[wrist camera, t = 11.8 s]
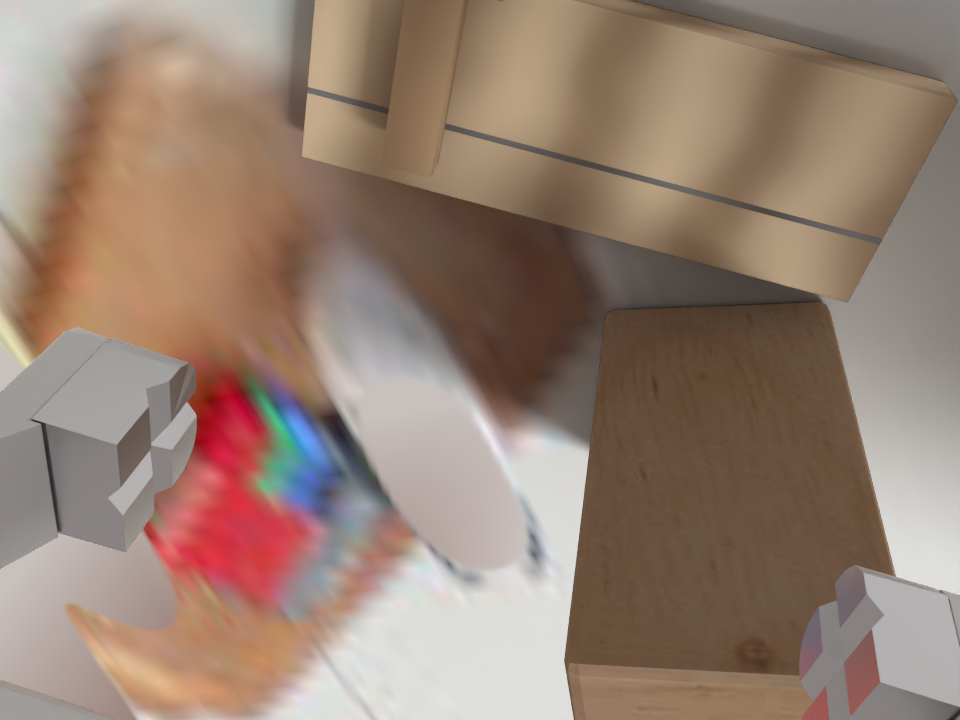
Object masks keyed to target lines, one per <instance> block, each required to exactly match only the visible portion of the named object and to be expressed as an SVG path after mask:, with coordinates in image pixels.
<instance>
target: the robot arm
mask: <svg viewBox="0 0 960 720" xmlns="http://www.w3.org/2000/svg"><path fill="white" fill-rule="evenodd" d="M196 389H197V387H196V368H194V367H193V366H192V365H191V364H189V363H187V362H184V361H181V360H178V359H175V358H172V357H169V356H165V355H162V354H159V353H156V352H153V351H150V350H147V349H144V348H141V347H138V346H135V345H132V344H129V343H126V342H123V341H120V340H117V339H111V338H108V337H105V336H102V335H99V334H96V333H93V332H90V331H87V330H84V329H81V328H78V327H77V328H74V329H71V330H67V331H65V332H64V333H63V334H61V335H60V336H59V337H58V338H57V339H56V340H55V341H54V342H53V343H52V344H51V345H50V346H49V347H48V348H47V349H46V350H45V351H44V352H43V353H41V354H40V355H39V356H38V357H37V358H36V359H35V360H34V361H33V362H32V363H31V364H30V365H29V366H28V367H27V368H26V369H25V370H24V371H23V372H21V373H20V374H19V375H18V376H17V377H16V378H15V379H14V380H13V381H12V382H11V383H10V384H9V385H8V386H7V387H6V388H5V389H4V390H3V391H1V392H0V569H1V568H3V567H4V566H6V565H8V564H10V563H12V562H14V561H15V560H17V559H19V558H21V557H23V556H24V555H26V554H28V553H30V552H31V551H34V550H35V549H37V548H39V547H41V546H43V545H44V544H46V543H48V542H50V541H52V540H53V539H55V538H57V537H58V533H60V534H64V535H67V536H71V537H74V538H78V539H81V540H85V541H88V542H92V543H95V544H99V545H102V546H106V547H109V548H113V549H116V550H119V551H123V552H126V551H127V550H128V549H129V547H130V546H131V544H132V543H133V541H134V540H135V539H136V537H137V536H138V535H139V533H140V532H141V530H142V529H143V528H144V526H145V525H146V523H147V522H148V521H149V519H150V518H151V516H152V515H153V514H154V494H156V493H158V492H161V491H163V490H165V489H168V488H170V487H172V486H173V485H174V484H175V482H176V481H177V479H178V478H179V476H180V475H181V473H182V472H183V470H184V468H185V466H186V464H187V461H188V459H189V457H190V454H191V452H192V449H193V446H194V441H195V436H196V431H197V415H196V414H195V413H194V411H193V410H192V408H191V407H190V405H189V404H188V402H187V401H188V400H189V398H190V397H191V396H192V394H193V393H194V392H195V390H196ZM835 587H836V596H837V600H836V601H833V602H831V603H828V604H825V605H822V606H820V607H818V609H817V611H816V612H815V614H814V615H813V617H812V618H811V620H810V621H809V623H808V625H807V628H806V631H805V634H804V637H803V640H802V644H801V650H800V659H799V671H800V683H801V684H802V686H803V687H804V689H805V690H806V692H807V693H808V695H809V696H810V698H811V699H812V701H813V703H812V704H811V705H810V707H809V708H808V709H807V711H806V712H805V713H804V715H803V716H802V718H803V720H960V595H957V594H953V593H950V592H946V591H943V590H937V589H935V588H932V587H928V586H925V585H922V584H918V583H915V582H911V581H908V580H904V579H901V578H898V577H894V576H891V575H887V574H884V573H881V572H877V571H874V570H870V569H867V568H864V567H860V566H857V565H853V566H852V567H850V568H848V569H847V570H845V571H844V573H843V574H842V575H841V577H840V578H839V579H838V581H837V582H836V583H835ZM0 720H121V719H118V718H115V717H112V716H109V715H106V714H103V713H100V712H97V711H94V710H91V709H87V708H85V707H82V706H79V705H75V704H73V703H69V702H66V701H63V700H60V699H57V698H54V697H51V696H48V695H45V694H42V693H39V692H36V691H33V690H30V689H27V688H24V687H21V686H18V685H15V684H12V683H9V682H6V681H3V680H0Z"/></svg>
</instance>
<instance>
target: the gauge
mask: <svg viewBox="0 0 960 720" xmlns="http://www.w3.org/2000/svg"><path fill="white" fill-rule="evenodd" d="M468 1H469V0H405V1H404V8H403V15H402V22H401V29H400V36H399V43H398V50H397V57H396V64H395V71H394V78H393V85H392V92H391V99H390V106H389V112H388V119H387V126H386V133H385V140H384V147H383V154H382V161H381V165H383V166H387V167H391V168H394V169H398V170H402V171H405V172H409V173H413V174H417V175H420V176H424V177H428V178H431V176H432V174H433V172H434V170H435V168H436V166H437V164H438V162H439V157H440V151H441V146H442V141H443V135H444V130H445V125H446V119H447V114H448V108H449V103H450V98H451V92H452V87H453V82H454V76H455V71H456V66H457V60H458V55H459V49H460V44H461V39H462V33H463V28H464V23H465V17H466V12H467V7H468ZM498 1H502V2H503V1H504V0H498Z"/></svg>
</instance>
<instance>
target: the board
mask: <svg viewBox="0 0 960 720" xmlns="http://www.w3.org/2000/svg"><path fill="white" fill-rule="evenodd" d="M404 1H405V0H315V5H314V17H313V29H312V41H311V53H310V65H309V77H308V87H307V101H306V113H305V125H304V137H303V149H302V157H305V158H309V159H313V160H316V161H320V162H324V163H328V164H331V165H335V166H339V167H343V168H346V169H350V170H354V171H358V172H361V173H365V174H369V175H373V176H376V177H380V178H384V179H388V180H391V181H395V182H399V183H403V184H406V185H410V186H414V187H418V188H421V189H425V190H429V191H433V192H436V193H440V194H444V195H448V196H451V197H455V198H459V199H463V200H466V201H470V202H474V203H478V204H481V205H485V206H489V207H493V208H496V209H500V210H504V211H508V212H511V213H515V214H519V215H523V216H526V217H530V218H534V219H538V220H541V221H545V222H549V223H552V224H556V225H560V226H564V227H567V228H571V229H575V230H579V231H582V232H586V233H590V234H594V235H597V236H601V237H605V238H609V239H612V240H616V241H620V242H624V243H627V244H631V245H635V246H639V247H642V248H646V249H650V250H654V251H657V252H661V253H665V254H669V255H672V256H676V257H680V258H684V259H687V260H691V261H695V262H699V263H702V264H706V265H710V266H714V267H717V268H721V269H725V270H729V271H732V272H736V273H740V274H744V275H747V276H751V277H755V278H759V279H762V280H766V281H770V282H773V283H777V284H781V285H785V286H788V287H792V288H796V289H800V290H803V291H807V292H811V293H815V294H818V295H822V296H826V297H830V298H833V299H837V300H841V301H845V302H848V301H849V299H850V297H851V296H852V294H853V292H854V290H855V288H856V286H857V285H858V283H859V281H860V279H861V277H862V275H863V274H864V272H865V270H866V268H867V266H868V264H869V263H870V261H871V259H872V257H873V255H874V253H875V252H876V250H877V248H878V246H879V245H880V243H881V241H882V239H883V237H884V235H885V233H886V231H887V230H888V228H889V226H890V224H891V222H892V220H893V219H894V217H895V215H896V213H897V211H898V209H899V207H900V206H901V204H902V202H903V200H904V198H905V196H906V195H907V193H908V191H909V189H910V187H911V185H912V184H913V182H914V180H915V178H916V176H917V174H918V173H919V171H920V169H921V167H922V165H923V163H924V162H925V160H926V158H927V156H928V154H929V152H930V151H931V149H932V147H933V145H934V143H935V141H936V140H937V138H938V136H939V134H940V132H941V130H942V129H943V127H944V125H945V123H946V121H947V119H948V117H949V116H950V114H951V112H952V110H953V108H954V106H955V105H956V103H957V101H958V100H957V99H956V98H955V96H954V95H953V93H952V92H951V90H950V89H949V88H948V86H947V85H946V83H945V82H942V81H938V80H934V79H931V78H927V77H923V76H919V75H915V74H911V73H907V72H904V71H900V70H896V69H892V68H888V67H884V66H881V65H877V64H873V63H869V62H865V61H861V60H858V59H854V58H850V57H846V56H842V55H838V54H835V53H831V52H827V51H823V50H819V49H815V48H812V47H808V46H804V45H800V44H796V43H792V42H789V41H785V40H781V39H777V38H773V37H769V36H766V35H762V34H758V33H754V32H750V31H746V30H742V29H739V28H735V27H731V26H727V25H723V24H719V23H716V22H712V21H708V20H704V19H700V18H696V17H693V16H689V15H685V14H681V13H677V12H673V11H670V10H666V9H662V8H658V7H654V6H650V5H647V4H643V3H639V2H635V1H631V0H504V1H503V2H502V1H498V0H469V1H468V7H467V12H466V17H465V23H464V28H463V33H462V39H461V44H460V49H459V55H458V60H457V66H456V71H455V76H454V82H453V87H452V92H451V98H450V103H449V108H448V114H447V119H446V125H445V130H444V135H443V141H442V146H441V151H440V157H439V162H438V164H437V166H436V168H435V170H434V172H433V174H432V176H431V178H428V177H424V176H420V175H417V174H413V173H409V172H405V171H402V170H398V169H394V168H391V167H387V166H383V165H381V161H382V154H383V147H384V140H385V133H386V126H387V119H388V112H389V106H390V99H391V92H392V85H393V78H394V71H395V64H396V57H397V50H398V43H399V36H400V29H401V22H402V15H403V8H404Z"/></svg>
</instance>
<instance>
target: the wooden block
mask: <svg viewBox="0 0 960 720" xmlns="http://www.w3.org/2000/svg"><path fill="white" fill-rule="evenodd" d="M853 565H857V566H860V567H864V568H867V569H870V570H874V571H877V572H881V573H884V574H887V575H891V576H894V577H896V575H895V571H894V567H893V563H892V559H891V555H890V551H889V547H888V543H887V539H886V535H885V531H884V527H883V523H882V519H881V515H880V511H879V507H878V503H877V499H876V495H875V491H874V486H873V482H872V478H871V474H870V470H869V466H868V462H867V458H866V454H865V450H864V446H863V442H862V438H861V434H860V430H859V426H858V422H857V418H856V414H855V410H854V406H853V402H852V398H851V394H850V390H849V386H848V382H847V378H846V374H845V370H844V366H843V362H842V358H841V354H840V350H839V346H838V342H837V338H836V334H835V330H834V326H833V322H832V318H831V314H830V311H829V309H828V307H827V306H826V305H825V304H823V303H819V302H811V303H785V304H759V305H732V306H706V307H680V308H653V309H627V310H614V311H611V312H609V313H608V314H607V317H606V319H605V325H604V333H603V342H602V350H601V358H600V367H599V375H598V383H597V392H596V400H595V409H594V417H593V425H592V434H591V442H590V450H589V459H588V467H587V475H586V484H585V492H584V500H583V509H582V517H581V526H580V534H579V542H578V551H577V559H576V567H575V576H574V584H573V592H572V601H571V609H570V617H569V626H568V634H567V643H566V651H565V659H564V662H565V668H566V674H567V680H568V686H569V692H570V698H571V705H572V711H573V717H574V720H803V718H802V716H803V715H804V713H805V712H806V711H807V709H808V708H809V707H810V705H811V704H812V703H813V701H812V699H811V698H810V696H809V695H808V693H807V692H806V690H805V689H804V687H803V686H802V684H801V683H800V671H799V659H800V650H801V644H802V640H803V637H804V634H805V631H806V628H807V625H808V623H809V621H810V620H811V618H812V617H813V615H814V614H815V612H816V611H817V609H818V607H820V606H822V605H825V604H828V603H831V602H833V601H836V600H837V596H836V587H835V583H836V582H837V581H838V579H839V578H840V577H841V575H842V574H843V573H844V571H845V570H847V569H848V568H850V567H852V566H853Z"/></svg>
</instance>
